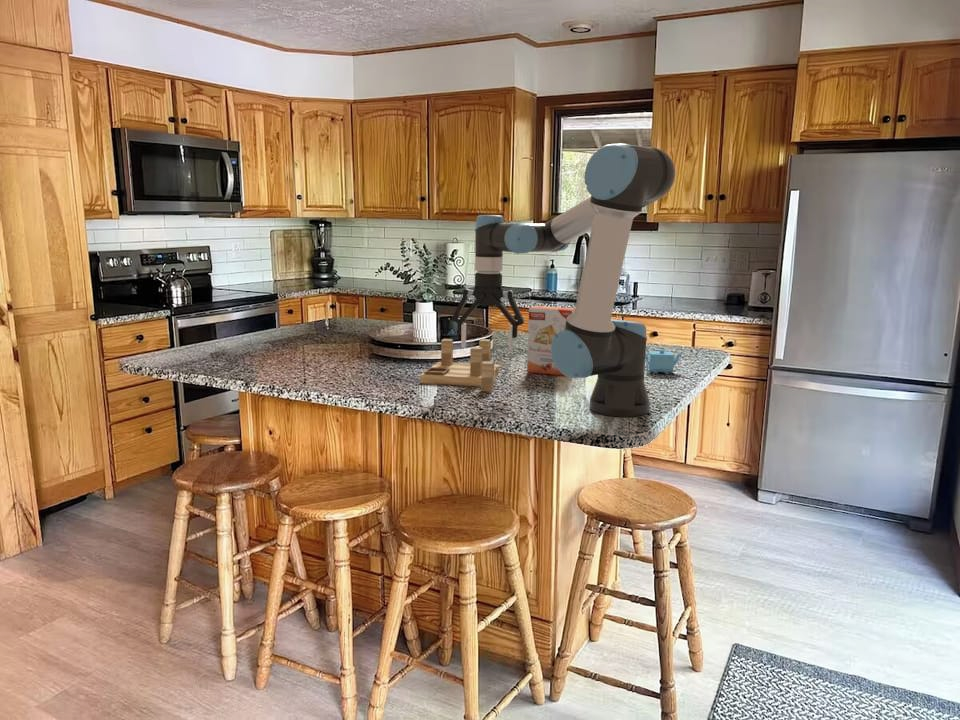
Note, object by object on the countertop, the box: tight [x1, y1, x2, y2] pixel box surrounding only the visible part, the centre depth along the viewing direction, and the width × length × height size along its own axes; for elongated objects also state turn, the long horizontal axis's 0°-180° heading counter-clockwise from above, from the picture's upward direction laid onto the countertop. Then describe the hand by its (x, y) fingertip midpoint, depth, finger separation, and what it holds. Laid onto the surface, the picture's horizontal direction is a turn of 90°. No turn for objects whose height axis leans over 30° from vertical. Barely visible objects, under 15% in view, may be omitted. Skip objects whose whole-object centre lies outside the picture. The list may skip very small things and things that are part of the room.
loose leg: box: [480, 361, 495, 393], centre depth 202 cm, size 3×3×8 cm
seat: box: [419, 338, 500, 387], centre depth 218 cm, size 20×20×10 cm
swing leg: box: [478, 338, 492, 362], centre depth 218 cm, size 11×3×8 cm, turn 167°
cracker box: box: [526, 305, 575, 377], centre depth 224 cm, size 14×6×21 cm, turn 68°
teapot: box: [645, 348, 685, 375], centre depth 227 cm, size 12×6×8 cm, turn 80°
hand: (487, 348), depth 201 cm, fingers open, 13 cm apart
